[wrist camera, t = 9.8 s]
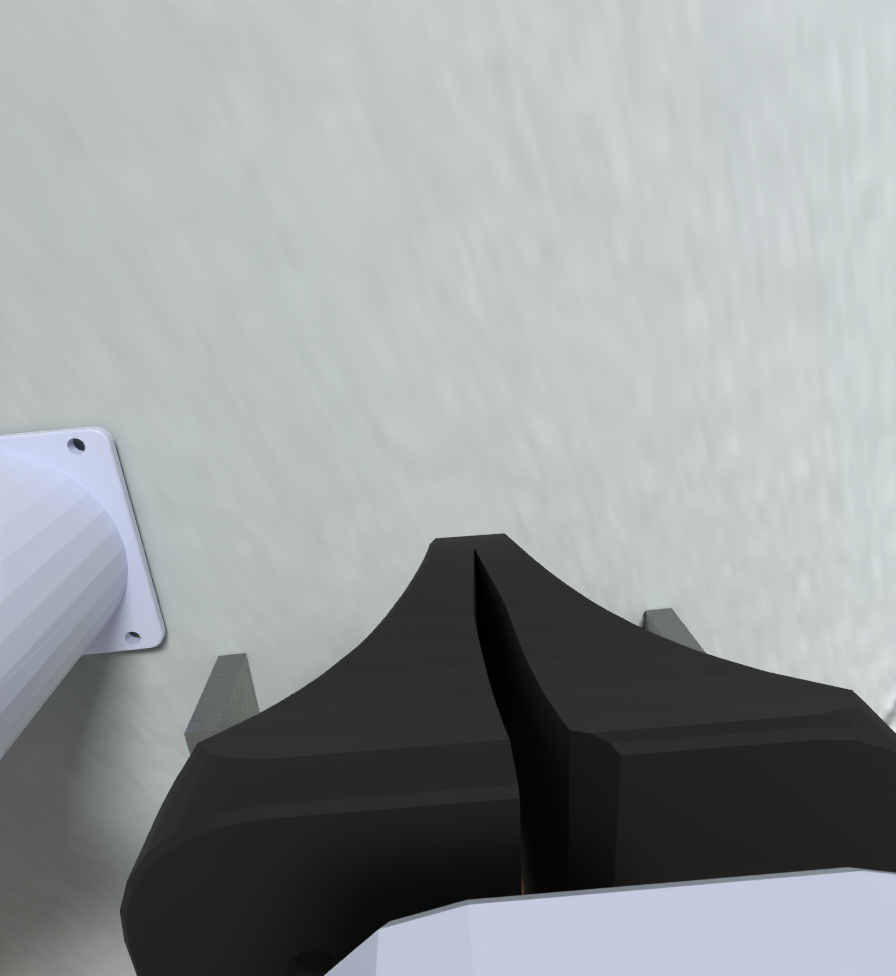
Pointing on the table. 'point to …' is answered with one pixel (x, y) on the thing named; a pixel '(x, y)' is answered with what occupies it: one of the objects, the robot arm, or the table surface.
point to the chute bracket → (236, 701)
